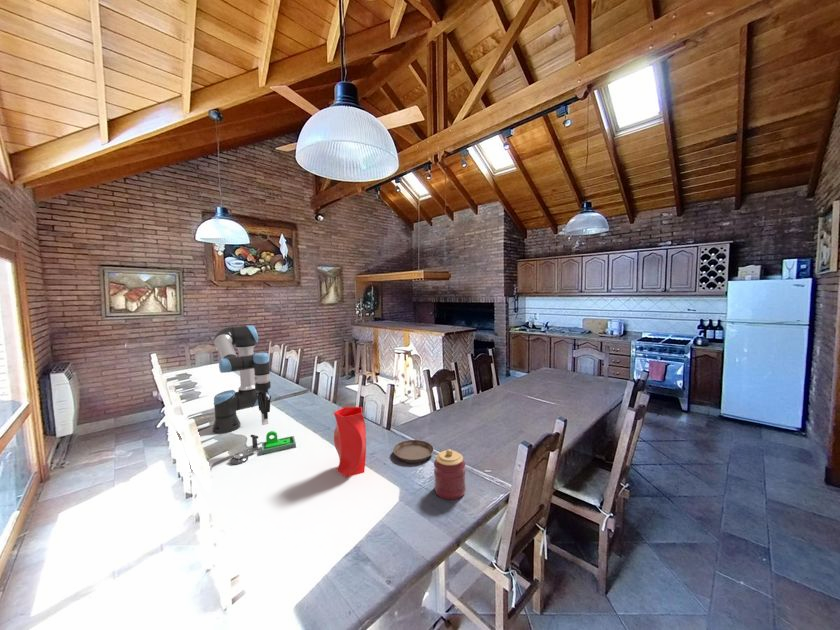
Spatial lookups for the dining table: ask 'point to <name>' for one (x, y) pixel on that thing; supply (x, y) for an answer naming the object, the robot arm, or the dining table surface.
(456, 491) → the canister
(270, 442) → the mechanical part
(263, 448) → the tray
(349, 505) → the dining table surface
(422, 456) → the plant saucer
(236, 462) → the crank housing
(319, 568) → the dining table surface
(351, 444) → the vase
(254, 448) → the crank
